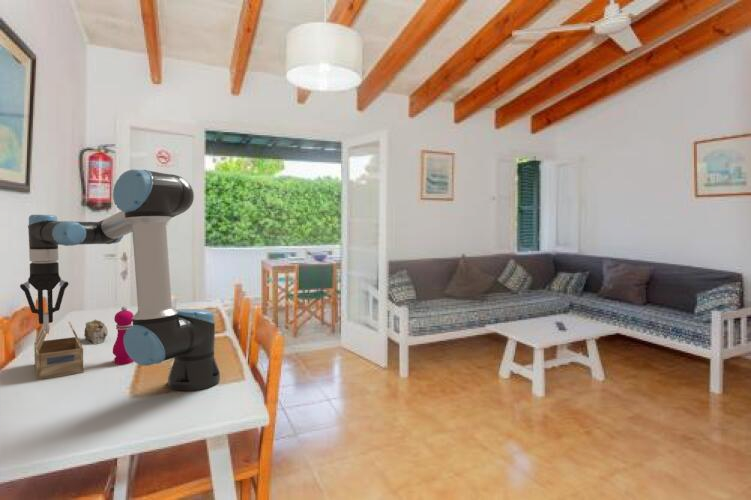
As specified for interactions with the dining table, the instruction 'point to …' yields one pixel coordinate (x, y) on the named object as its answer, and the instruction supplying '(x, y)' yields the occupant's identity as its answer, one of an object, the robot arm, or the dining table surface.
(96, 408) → the dining table surface
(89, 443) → the dining table surface
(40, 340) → the flap left
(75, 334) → the flap right
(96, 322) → the rock
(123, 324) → the pepper mill
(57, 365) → the carton
